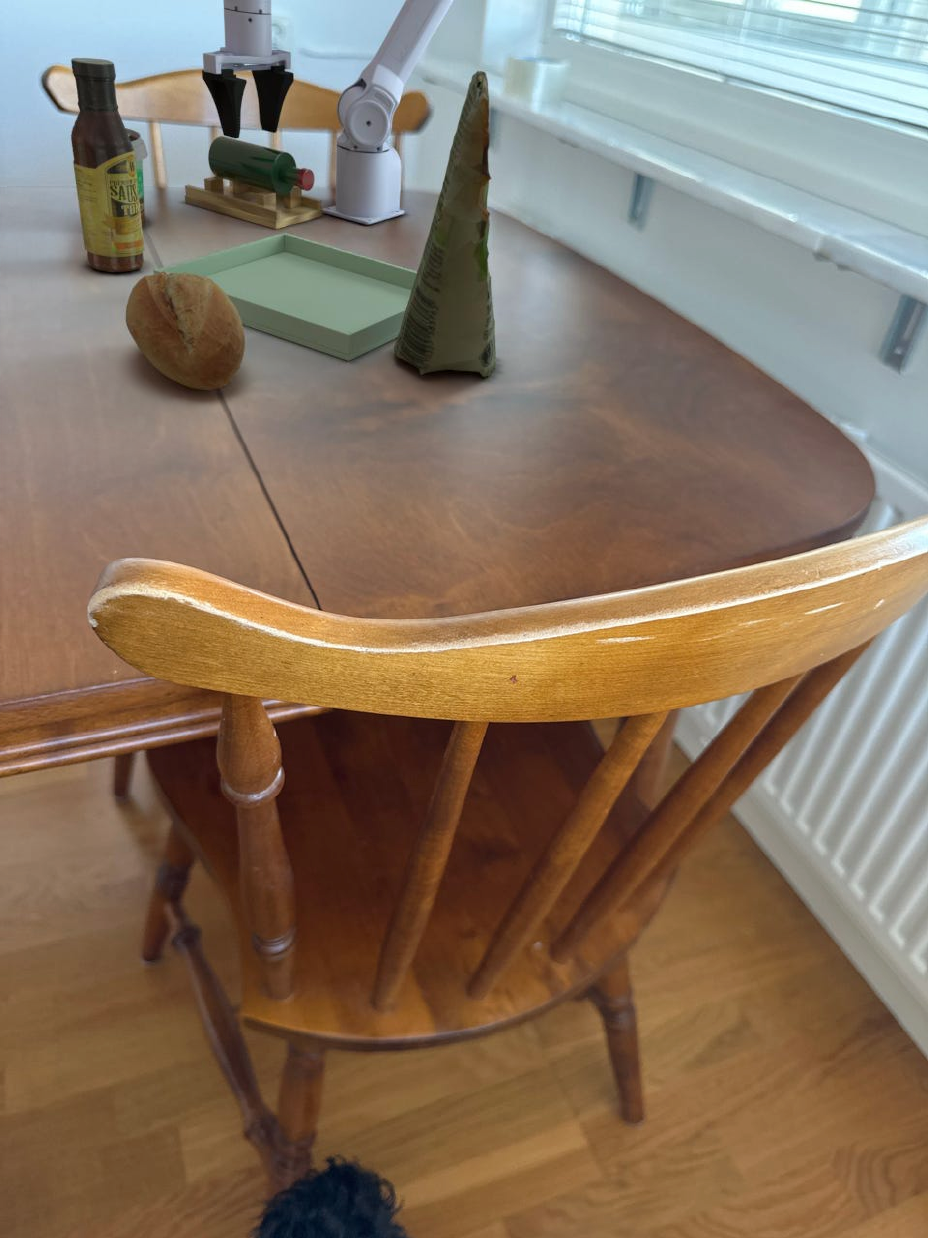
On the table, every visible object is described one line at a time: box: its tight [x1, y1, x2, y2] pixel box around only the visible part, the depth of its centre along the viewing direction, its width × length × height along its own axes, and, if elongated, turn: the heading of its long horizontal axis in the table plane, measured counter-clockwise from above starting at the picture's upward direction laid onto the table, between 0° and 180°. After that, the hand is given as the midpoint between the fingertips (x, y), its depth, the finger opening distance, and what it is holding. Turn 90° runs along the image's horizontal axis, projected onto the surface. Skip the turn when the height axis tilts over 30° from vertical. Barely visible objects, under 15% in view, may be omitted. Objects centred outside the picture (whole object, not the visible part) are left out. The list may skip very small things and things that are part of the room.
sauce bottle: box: [70, 57, 145, 273], centre depth 95 cm, size 7×6×20 cm
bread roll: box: [125, 271, 246, 391], centre depth 79 cm, size 10×15×8 cm, turn 29°
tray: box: [152, 232, 418, 362], centre depth 97 cm, size 21×25×3 cm
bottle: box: [207, 135, 316, 195], centre depth 120 cm, size 5×15×5 cm, turn 60°
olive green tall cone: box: [393, 70, 497, 378], centre depth 81 cm, size 11×12×25 cm
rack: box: [184, 175, 323, 230], centre depth 123 cm, size 10×16×4 cm, turn 60°
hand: (250, 133), depth 118 cm, fingers open, 7 cm apart
